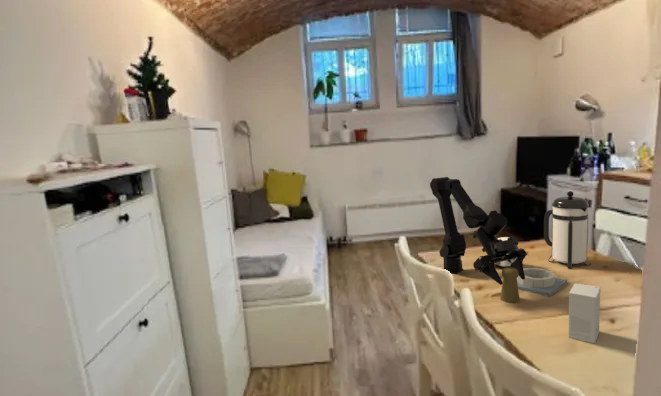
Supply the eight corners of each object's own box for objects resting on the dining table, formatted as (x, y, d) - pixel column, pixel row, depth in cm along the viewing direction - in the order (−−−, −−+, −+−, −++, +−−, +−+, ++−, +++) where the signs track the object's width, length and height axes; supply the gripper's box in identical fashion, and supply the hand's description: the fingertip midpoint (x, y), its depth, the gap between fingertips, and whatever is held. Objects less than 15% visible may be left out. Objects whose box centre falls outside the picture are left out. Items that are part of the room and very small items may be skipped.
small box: (573, 325, 115) (574, 282, 113) (599, 331, 111) (601, 286, 109) (567, 337, 109) (568, 292, 107) (595, 344, 105) (596, 297, 103)
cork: (522, 303, 132) (522, 271, 130) (502, 302, 133) (502, 271, 131) (517, 295, 138) (517, 265, 136) (498, 295, 139) (498, 265, 137)
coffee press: (590, 258, 167) (592, 188, 163) (590, 271, 154) (592, 194, 150) (543, 254, 177) (544, 187, 172) (540, 266, 164) (540, 193, 159)
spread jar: (523, 268, 162) (523, 240, 160) (498, 273, 160) (498, 244, 158) (503, 260, 174) (503, 234, 172) (480, 264, 171) (480, 237, 169)
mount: (503, 285, 147) (503, 275, 146) (522, 273, 157) (522, 263, 157) (550, 296, 135) (550, 285, 134) (567, 282, 145) (567, 272, 145)
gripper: (478, 233, 133) (502, 275, 124) (523, 225, 138) (549, 265, 130) (463, 250, 141) (485, 290, 133) (506, 242, 147) (530, 280, 138)
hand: (513, 281), depth 133 cm, fingers open, 9 cm apart
